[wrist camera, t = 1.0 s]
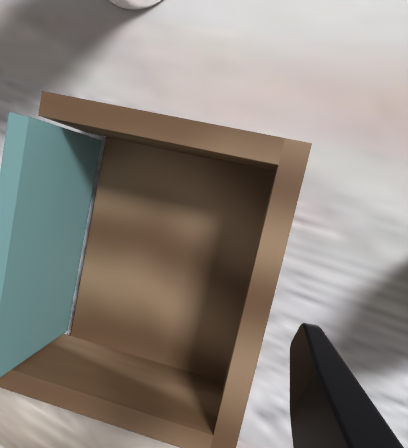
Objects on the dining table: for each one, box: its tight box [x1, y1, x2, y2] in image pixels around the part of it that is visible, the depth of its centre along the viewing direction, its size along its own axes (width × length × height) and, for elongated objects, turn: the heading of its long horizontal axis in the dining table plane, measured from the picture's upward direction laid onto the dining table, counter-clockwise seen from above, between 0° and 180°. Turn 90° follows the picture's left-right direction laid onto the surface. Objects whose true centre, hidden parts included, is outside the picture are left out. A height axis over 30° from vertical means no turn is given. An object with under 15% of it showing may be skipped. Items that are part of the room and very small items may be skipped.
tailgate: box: [0, 112, 101, 377], centre depth 20 cm, size 13×1×7 cm, turn 168°
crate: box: [0, 91, 312, 448], centre depth 20 cm, size 16×13×6 cm
